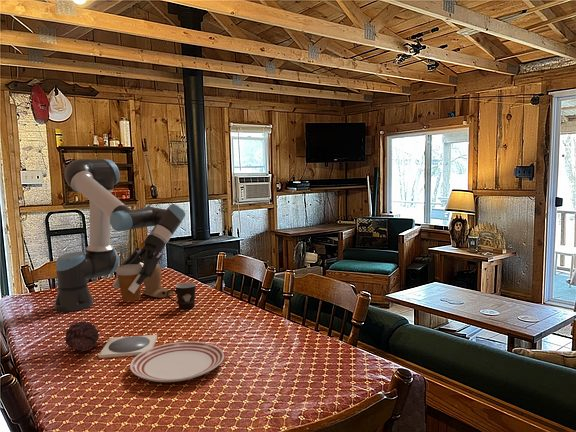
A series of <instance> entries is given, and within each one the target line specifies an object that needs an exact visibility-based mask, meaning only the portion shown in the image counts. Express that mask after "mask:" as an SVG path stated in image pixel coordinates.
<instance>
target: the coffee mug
mask: <svg viewBox="0 0 576 432" xmlns="http://www.w3.org/2000/svg"><path fill="white" fill-rule="evenodd" d="M196 285H197V284H196V283H195V282H181V283H178V284H175V289H169V291H167V297H166V298H168V299H170V300H171V301H173V302H175V303H177V305H178V309H179V310H180V311H190V310H192V309H193V310H194V308H195V303H196V302H195V301H196V289H197V288H196V287H197V286H196ZM170 291H174V293H175V294H176V297H177V298H176V299H177V300H175V299H174V298H171V297H170V295H169V296H168V292H170Z"/></svg>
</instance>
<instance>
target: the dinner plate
mask: <svg viewBox="0 0 576 432" xmlns="http://www.w3.org/2000/svg"><path fill="white" fill-rule="evenodd" d="M224 358H225V354H224V351H223V349H222V348H220V347H218V346H216V345H214V344H211V343H208V342H207V343H206V342H202V341H178V342H169V343H165V344H160V345H157V346H154V347H153V348H151V349H148V350H146V351H144V352H142V353H140V354H139V355H135V357H134V358H132V360H131V362H130V363H129V369H130V371H131V373H133V374H134V375H135V376H137V377H138V378H141V379H143V380H145V381H152V382H156V383H174V382H175V383H176V382H182V381H183V382H184V381H188V380H192V379H194V378H198V377H200V376H201V377H202V376H203V375H206V374H208V373H210V372H211V371H213V370H214V369H216V368H217V367H218V366H219V365H220V364H221V363H223V360H224Z"/></svg>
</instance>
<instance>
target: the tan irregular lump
mask: <svg viewBox="0 0 576 432" xmlns="http://www.w3.org/2000/svg"><path fill="white" fill-rule="evenodd" d="M149 273H150V272H149ZM142 284H144V287H145V289H143V290H142V294H144V295H147V296H149V297H154V298H159V299H160V298H162V299H163V298H168V297H167V291H169V290H170V289H168V288H166V287H163V286H162V270H161V265H159V264H158V263H157V265H156V268H155V270H154V272H153V274H152V276H151V277H147V278H145V279H144V281H143V282H142ZM174 293H175V292H174V291H170V292H168V296H169V297H170V296H171V295H173V294H174Z"/></svg>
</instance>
